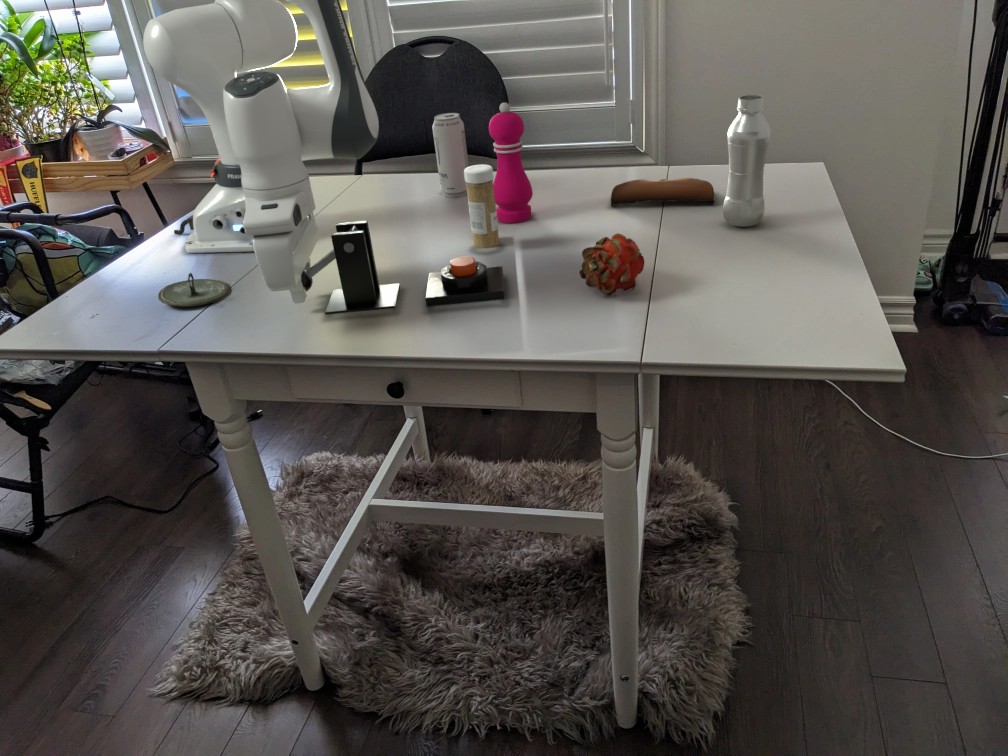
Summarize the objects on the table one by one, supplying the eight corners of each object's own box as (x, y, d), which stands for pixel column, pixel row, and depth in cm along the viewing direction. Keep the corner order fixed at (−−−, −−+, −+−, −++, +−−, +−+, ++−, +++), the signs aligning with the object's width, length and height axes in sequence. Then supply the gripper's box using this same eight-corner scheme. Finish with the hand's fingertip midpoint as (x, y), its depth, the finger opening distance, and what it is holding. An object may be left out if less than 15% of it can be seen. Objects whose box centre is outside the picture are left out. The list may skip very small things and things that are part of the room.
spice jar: (506, 248, 131) (498, 166, 125) (482, 255, 129) (473, 173, 123) (491, 241, 135) (482, 161, 128) (467, 248, 133) (458, 168, 126)
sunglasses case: (713, 188, 146) (714, 162, 140) (713, 218, 143) (715, 193, 137) (613, 191, 150) (611, 166, 144) (611, 221, 147) (609, 196, 141)
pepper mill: (542, 216, 143) (534, 101, 133) (509, 227, 140) (498, 109, 130) (519, 208, 148) (509, 96, 138) (486, 218, 145) (474, 104, 135)
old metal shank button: (156, 313, 125) (140, 288, 122) (206, 276, 130) (191, 251, 126) (194, 331, 119) (177, 305, 116) (244, 292, 124) (230, 266, 120)
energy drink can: (439, 191, 162) (428, 115, 154) (468, 186, 163) (459, 110, 155) (444, 199, 157) (433, 121, 149) (474, 194, 158) (465, 116, 150)
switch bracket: (326, 320, 114) (308, 241, 108) (335, 296, 121) (318, 221, 115) (396, 313, 113) (382, 234, 107) (401, 290, 120) (388, 214, 114)
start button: (451, 278, 113) (449, 267, 112) (451, 268, 116) (450, 257, 115) (476, 276, 113) (475, 264, 112) (476, 266, 116) (475, 255, 115)
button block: (427, 312, 113) (423, 286, 111) (431, 286, 121) (427, 261, 119) (505, 305, 113) (502, 278, 111) (503, 279, 120) (501, 254, 118)
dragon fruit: (594, 318, 110) (618, 293, 120) (644, 286, 105) (665, 264, 116) (559, 266, 109) (586, 246, 119) (608, 232, 105) (632, 214, 115)
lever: (298, 301, 115) (280, 283, 113) (302, 291, 118) (285, 274, 116) (366, 247, 111) (349, 229, 109) (369, 239, 114) (352, 220, 112)
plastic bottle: (748, 214, 134) (756, 90, 124) (772, 226, 129) (782, 97, 119) (714, 221, 133) (719, 97, 123) (736, 234, 127) (744, 104, 117)
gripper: (274, 181, 118) (295, 269, 125) (239, 228, 100) (266, 327, 107) (316, 177, 118) (335, 264, 125) (289, 223, 100) (313, 322, 107)
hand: (303, 294), depth 116 cm, fingers closed on lever, 3 cm apart
